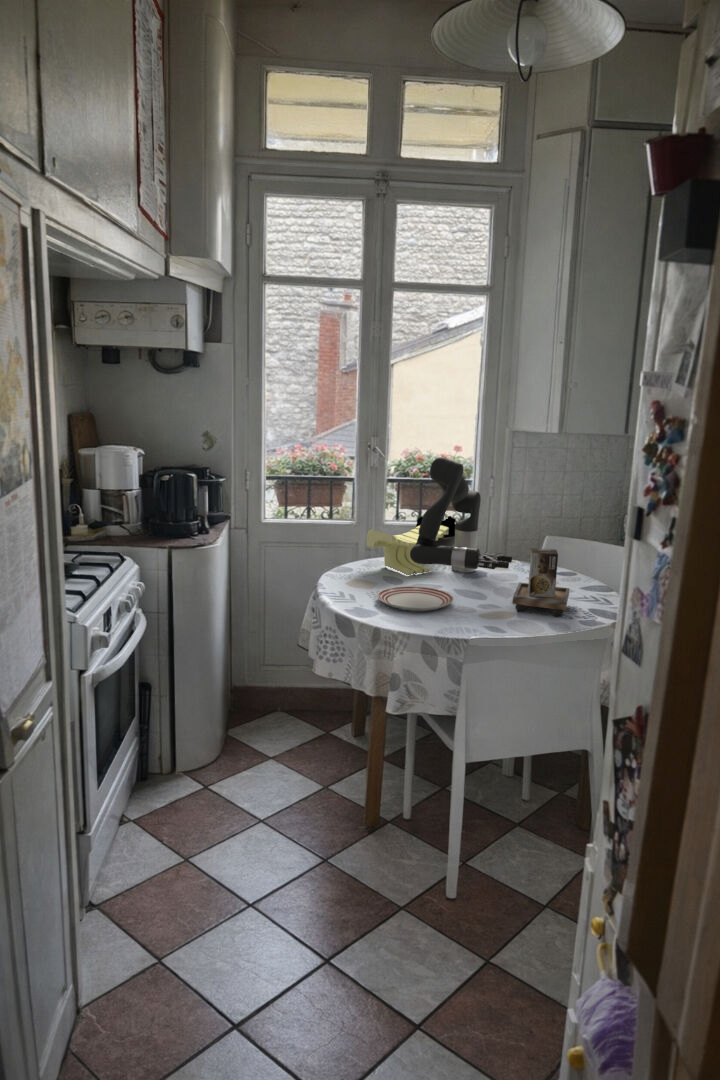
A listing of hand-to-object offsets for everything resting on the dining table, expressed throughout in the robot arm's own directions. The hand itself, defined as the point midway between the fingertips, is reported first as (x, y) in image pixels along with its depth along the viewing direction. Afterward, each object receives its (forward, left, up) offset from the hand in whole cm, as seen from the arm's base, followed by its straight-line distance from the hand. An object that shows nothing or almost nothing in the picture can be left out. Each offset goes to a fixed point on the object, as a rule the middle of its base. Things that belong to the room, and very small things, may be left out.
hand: (510, 562), depth 285 cm
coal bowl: (-40, +57, -16) cm, 71 cm away
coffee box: (+12, 0, -11) cm, 16 cm away
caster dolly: (+12, 0, -15) cm, 20 cm away
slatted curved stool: (-45, +29, -16) cm, 56 cm away
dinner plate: (-31, -13, -16) cm, 37 cm away
